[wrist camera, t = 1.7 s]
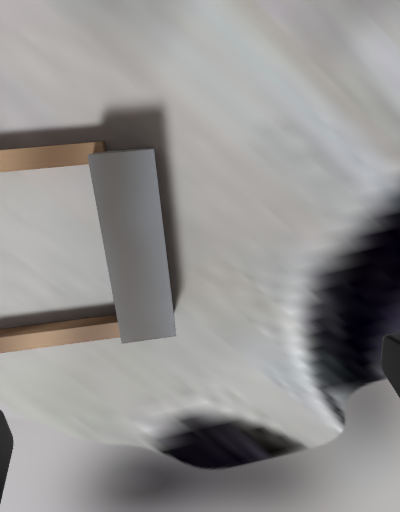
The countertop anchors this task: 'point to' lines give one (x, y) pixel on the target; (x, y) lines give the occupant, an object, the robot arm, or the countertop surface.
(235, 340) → the countertop surface
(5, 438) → the robot arm
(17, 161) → the guide track
